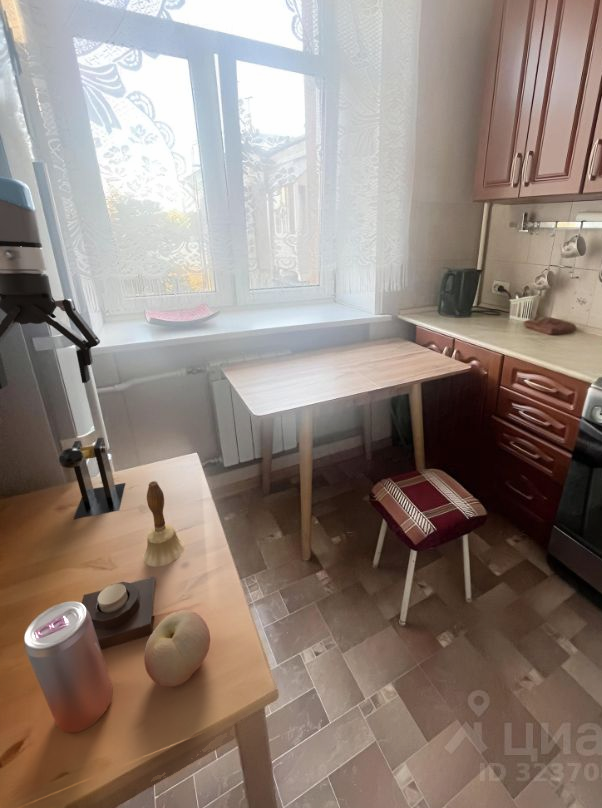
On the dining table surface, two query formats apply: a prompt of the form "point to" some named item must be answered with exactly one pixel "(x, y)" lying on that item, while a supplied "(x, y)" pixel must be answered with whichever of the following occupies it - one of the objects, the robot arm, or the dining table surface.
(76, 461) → the lever
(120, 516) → the dining table surface
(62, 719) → the beverage can
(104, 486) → the switch bracket
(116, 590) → the button
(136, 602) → the button block
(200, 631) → the fruit
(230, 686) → the dining table surface
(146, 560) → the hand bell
